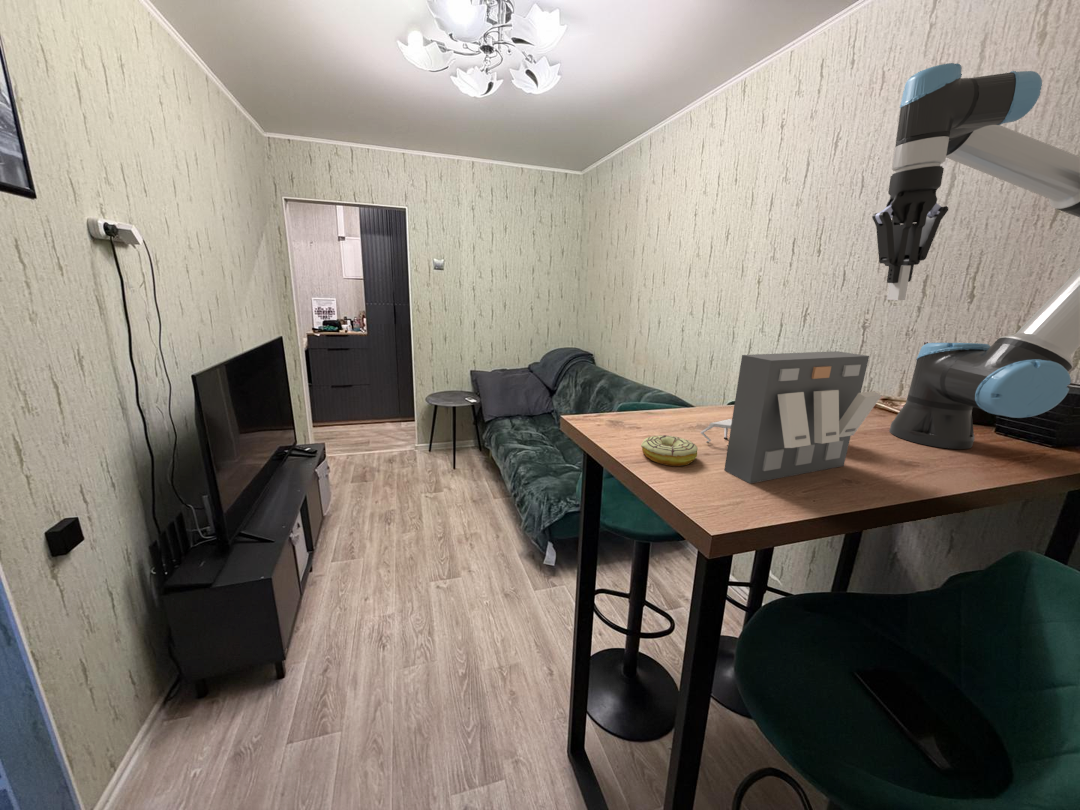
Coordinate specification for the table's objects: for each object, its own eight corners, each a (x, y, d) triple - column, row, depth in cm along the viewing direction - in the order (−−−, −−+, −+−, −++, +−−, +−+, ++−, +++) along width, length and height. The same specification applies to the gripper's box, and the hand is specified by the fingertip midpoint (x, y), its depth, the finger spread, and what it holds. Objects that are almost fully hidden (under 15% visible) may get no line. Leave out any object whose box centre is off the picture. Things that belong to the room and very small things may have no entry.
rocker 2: (854, 435, 81) (882, 396, 76) (838, 438, 80) (866, 397, 75) (846, 430, 82) (874, 391, 77) (831, 432, 81) (858, 392, 76)
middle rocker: (840, 441, 76) (839, 389, 75) (823, 443, 74) (822, 391, 74) (831, 440, 77) (830, 389, 77) (814, 442, 76) (813, 391, 75)
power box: (845, 466, 85) (871, 356, 80) (751, 484, 76) (773, 360, 70) (815, 455, 91) (837, 351, 85) (724, 470, 82) (742, 355, 76)
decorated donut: (664, 445, 95) (666, 429, 94) (706, 462, 86) (709, 444, 85) (630, 454, 89) (632, 436, 88) (672, 473, 80) (675, 454, 79)
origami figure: (735, 435, 102) (738, 415, 101) (762, 448, 95) (765, 426, 93) (691, 438, 99) (694, 418, 98) (715, 451, 91) (718, 429, 90)
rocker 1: (811, 445, 72) (804, 391, 73) (793, 447, 71) (785, 393, 71) (803, 445, 74) (796, 392, 74) (784, 447, 72) (777, 394, 73)
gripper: (933, 170, 83) (911, 295, 91) (866, 176, 83) (850, 301, 90) (971, 161, 76) (945, 297, 83) (899, 167, 76) (878, 304, 83)
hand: (895, 299), depth 87 cm, fingers closed
